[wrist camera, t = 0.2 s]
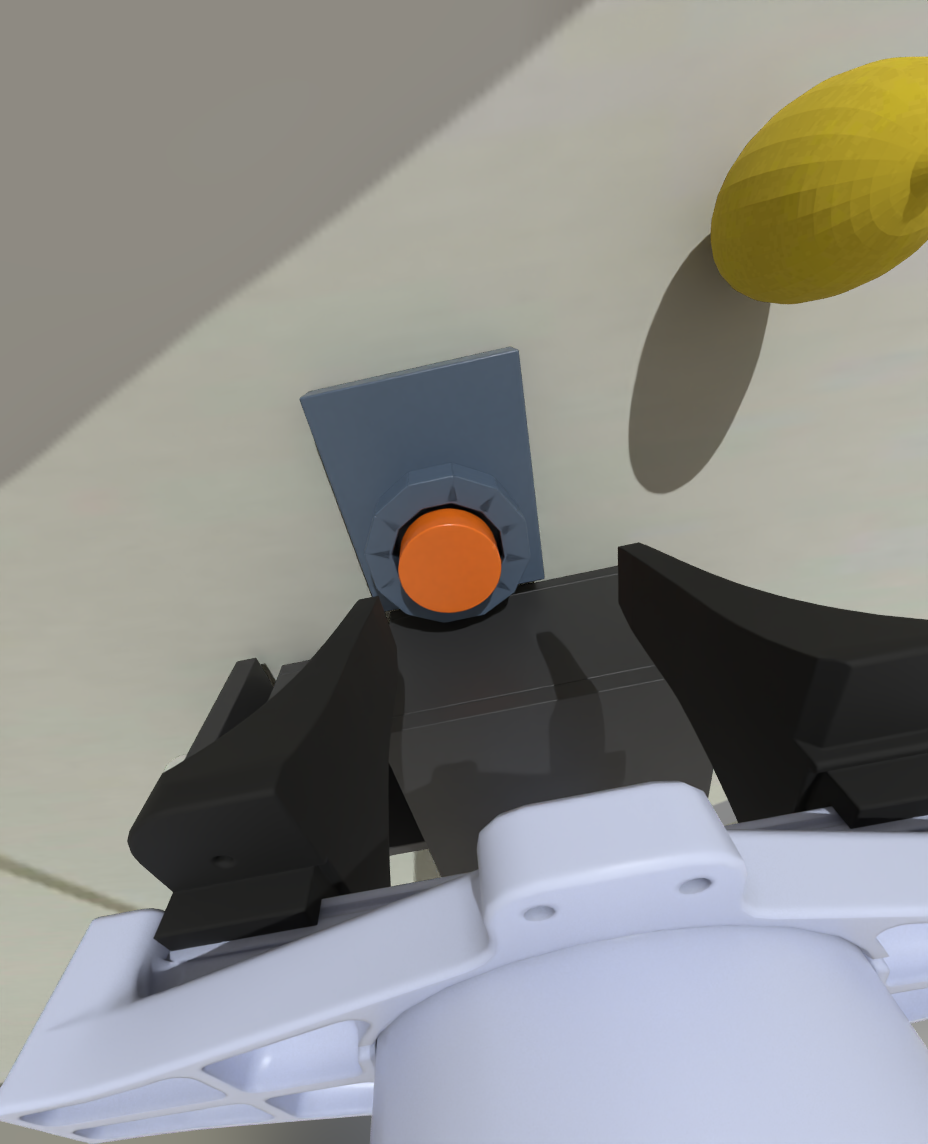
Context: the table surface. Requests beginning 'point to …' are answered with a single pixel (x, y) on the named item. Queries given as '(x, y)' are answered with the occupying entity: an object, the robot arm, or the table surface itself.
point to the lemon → (829, 188)
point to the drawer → (254, 690)
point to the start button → (449, 561)
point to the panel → (431, 465)
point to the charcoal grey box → (529, 711)
